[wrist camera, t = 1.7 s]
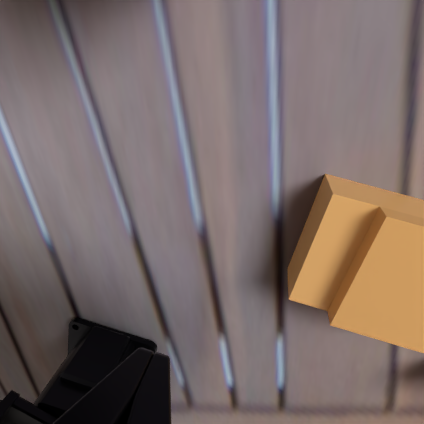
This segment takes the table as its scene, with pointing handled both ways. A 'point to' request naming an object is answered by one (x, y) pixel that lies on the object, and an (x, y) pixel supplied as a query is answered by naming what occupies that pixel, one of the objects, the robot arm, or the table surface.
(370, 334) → the orange stepped block
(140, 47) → the table surface
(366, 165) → the table surface
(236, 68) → the table surface
